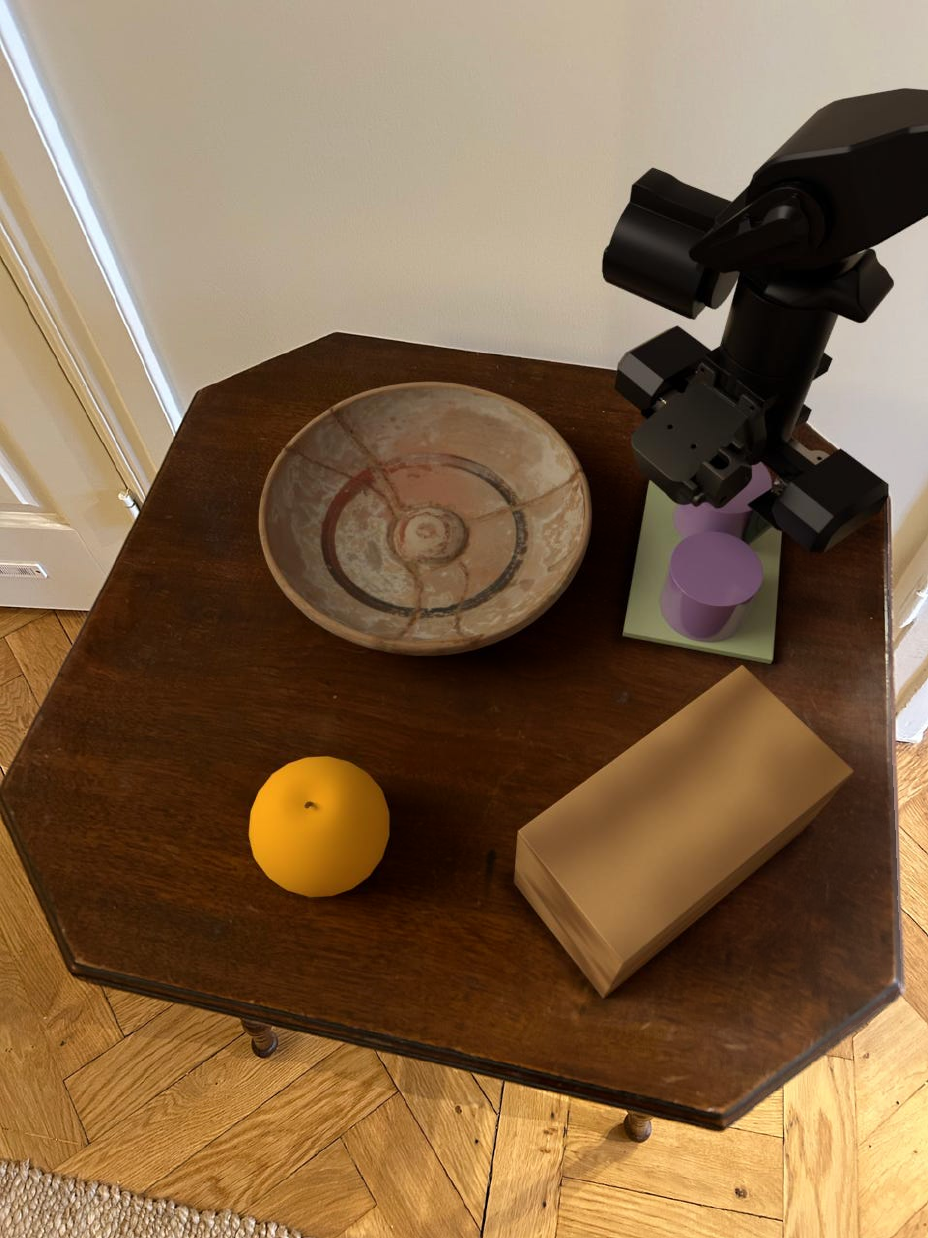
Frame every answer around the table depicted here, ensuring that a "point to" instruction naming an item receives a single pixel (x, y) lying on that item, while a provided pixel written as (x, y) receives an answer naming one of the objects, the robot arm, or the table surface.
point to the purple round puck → (710, 586)
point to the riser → (673, 826)
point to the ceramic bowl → (425, 518)
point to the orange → (319, 826)
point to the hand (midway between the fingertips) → (716, 514)
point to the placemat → (650, 575)
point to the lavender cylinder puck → (723, 510)
